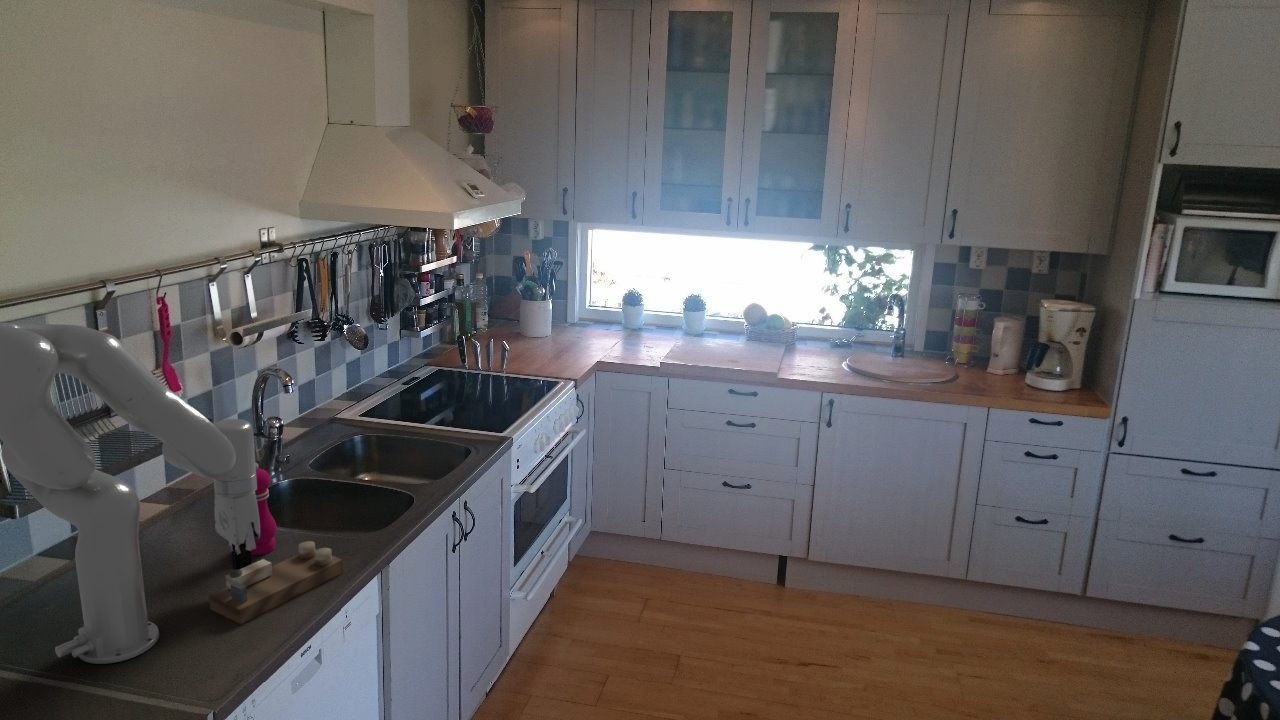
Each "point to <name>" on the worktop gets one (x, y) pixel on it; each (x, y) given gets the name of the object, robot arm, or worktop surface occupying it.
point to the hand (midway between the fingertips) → (242, 568)
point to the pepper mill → (264, 515)
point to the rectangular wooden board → (278, 584)
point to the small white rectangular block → (249, 573)
